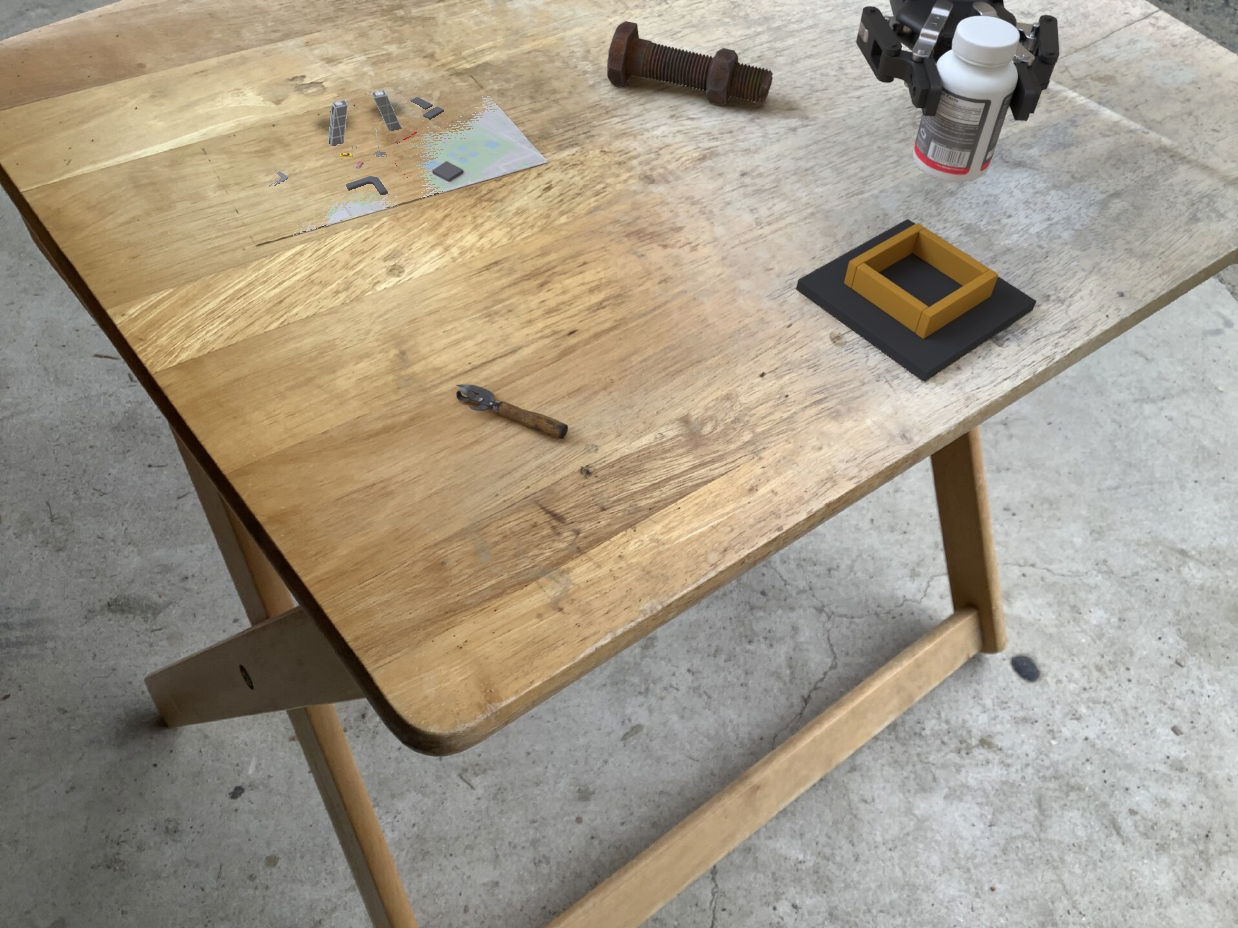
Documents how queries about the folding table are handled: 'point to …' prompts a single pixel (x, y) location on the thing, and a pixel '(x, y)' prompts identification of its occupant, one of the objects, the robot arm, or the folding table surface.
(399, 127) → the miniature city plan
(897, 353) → the dock
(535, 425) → the can opener
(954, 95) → the pill bottle
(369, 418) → the folding table surface
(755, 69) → the bolt
